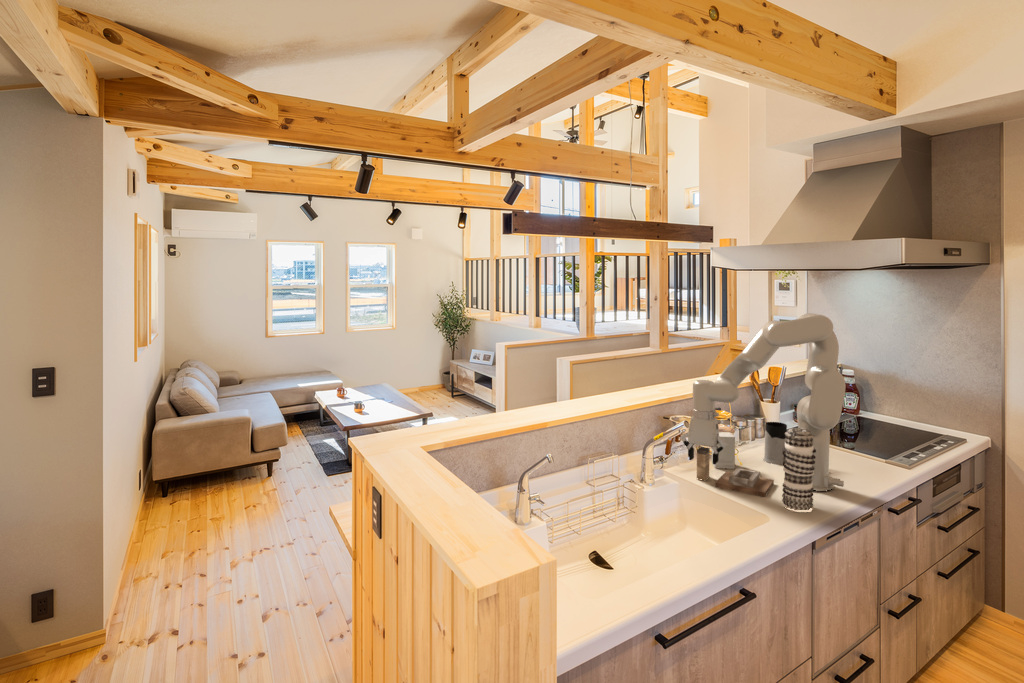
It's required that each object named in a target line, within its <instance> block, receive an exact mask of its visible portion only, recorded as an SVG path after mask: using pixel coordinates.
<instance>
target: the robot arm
mask: <svg viewBox="0 0 1024 683" xmlns="http://www.w3.org/2000/svg"><path fill="white" fill-rule="evenodd" d="M834 331H835V330H834V324H833V322H832V320H831V319H830V317H828V316H826V315H824V314H817V313H804V314H802V315H800V316H799V317H798V318H794V319H790V320H775V319H774V320H769V321H767V322H766V323H765V324H764V325H763V326H762V327H761V328H760V329H759V331H758V332H757V333H756V334H755V335H754V337H753V338H752V339H751V340H750V341H749V343H748V344H747V345H746V347H745V348H744V349H743V350H742V351H741V352H740V353H739V354H738V355H737V356H736V357H735V358H734V359H733V360H732V361H731V362H730V363H729V364H728V365H727V366H726V367H725V369H724V370H723V371H722V373H720V375H719V376H718V377H717V378H716V379H715V382H714V381H713V380H709V379H699V380H694V381H693V383H692V416H690V420H689V424H688V425H689V426H688V432H686V433H684V434H682V435H681V436H680V439H681V442H682V443H683V445H684V446H686V449H687V457H688V459H689V461H692V460H694V458H695V448H694V445H698V446H701V447H708V448H710V449H711V450H712V449H713V451H714V453H713V464H716V463H717V462H718V460H719V452H720V451H721V450H723V449H724V448H725V446H726V445H727V444H728V443H727V442H726V441H725V440H723V439H722V438H721V437H720V436H719V432H720V429H719V422H718V418H717V417H719V416H720V413H719V412H717V411H716V409H715V408H716V405H715V404H716V402H717V403H718V402H719V403H724V404H731V403H734V402H736V401H737V400H738V399H739V397H740V389H739V386H740V385H741V384H742V382H743V381H744V380H745V379H746V378H747V377H748V376H749V375H751V374H753V373H754V372H757V371H759V370H760V369H762V368H763V367H765V365H767V363H768V362H769V360H770V359H771V358H772V357H773V356H774V355H775V353H776V352H777V351H778V350H779V349H780V348H784V347H791V346H798V345H804V344H808V347H809V349H808V350H809V353H808V360H807V364H806V365H807V366H806V371H805V374H804V375H805V376H804V383H805V386H806V387H807V388H808V390H810V395H806V396H803V397H802V398H801V399H800V400H799V401H798V403H797V406H796V421H797V428H803V429H807V430H809V431H810V432H811V433H812V434H813V435H814V436H815V437H813V446H814V449H815V450H816V452H815V453H813V452H812V455H814V456H815V457H816V458H815V459H812V460H814V461H815V464H812V466H813V467H814V468H815V469H814V470H813V471H814V474H813V475H812V483H813V485H812V487H813V489H814V490H816V491H815V492H817V491H826V490H831V489H832V490H833V489H834V486H837V487H841V488H843V487H844V484H845V483H844V482H845V481H844V480H841V478H836V477H832V476H831V473H830V470H829V467H830V466H829V465H830V443H831V442H830V440H831V437H830V435H831V434H830V433H831V432H830V430H832V429H834V427H836V425H838V423H839V421H840V419H841V415H842V410H843V407H844V406H843V405H844V400H845V395H846V388H847V386H846V381H845V378H844V376H843V375H842V374H841V373H840V371H837V369H838V361H839V352H840V348H839V347H840V346H839V345H840V344H839V340H838V338H837V335H836V334H835V332H834ZM687 438H688V439H687ZM719 442H720V443H721V444H722V445H721V446H720V447H719V448H718V446H717V444H718V443H719ZM713 464H712V465H713ZM832 490H831V491H832ZM826 492H827V491H826Z"/></svg>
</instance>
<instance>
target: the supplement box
mask: <svg viewBox="0 0 1024 683" xmlns="http://www.w3.org/2000/svg"><path fill="white" fill-rule="evenodd" d="M719 436H720V437H721V438H722V439H723V440H725V441H726V442H727V443H728V444H727V445H726V446H725V448H724V449H723V450H721V451H720V452H719V460H718V462H717V463H716V464H713V453H714V451H713V449H712V448H711V464H712V466H713V467H714V468H715V469H725V468H727V470H730V469H731V470H734V469H735V468H736V467H735V464H736V463H735V462H736V461H735V460H736V459H735V458H736V456H735V455H736V437H735V435H734V434H733V433H732V432H725V431H724V432H723V431H719ZM721 445H722V444H721V443H720V442H719V443H718V444H717V446H718V448H719V447H720V446H721Z"/></svg>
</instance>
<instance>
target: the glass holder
mask: <svg viewBox="0 0 1024 683" xmlns="http://www.w3.org/2000/svg"><path fill="white" fill-rule="evenodd" d="M787 431H788V425H787V424H786V423H784V422H778V421H770V422H769V421H768V422H765V429H764V457H763V458H762V459H763V461H764V462H765V461H766V462H765V463H768V464H771V463H772V464H773V465H783V462H784V461H783V457H784V456H783V454H782V452H783V450H782V446H784V445H785V441H786V434H785V432H787ZM785 449H786V448H785ZM784 454H786V452H785V453H784ZM785 460H786V459H785Z"/></svg>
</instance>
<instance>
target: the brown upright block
mask: <svg viewBox="0 0 1024 683" xmlns="http://www.w3.org/2000/svg"><path fill="white" fill-rule="evenodd" d="M710 449H711V447H707V446H700V447H699V448H697V450H696V479H697V478H698V479H702V480H706V479H707V478H708V477H709V478H710V455H711V454H710V453H711V452H710ZM709 478H708V479H709ZM708 479H707V480H708ZM702 480H701V481H702ZM707 480H706V481H707Z"/></svg>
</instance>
